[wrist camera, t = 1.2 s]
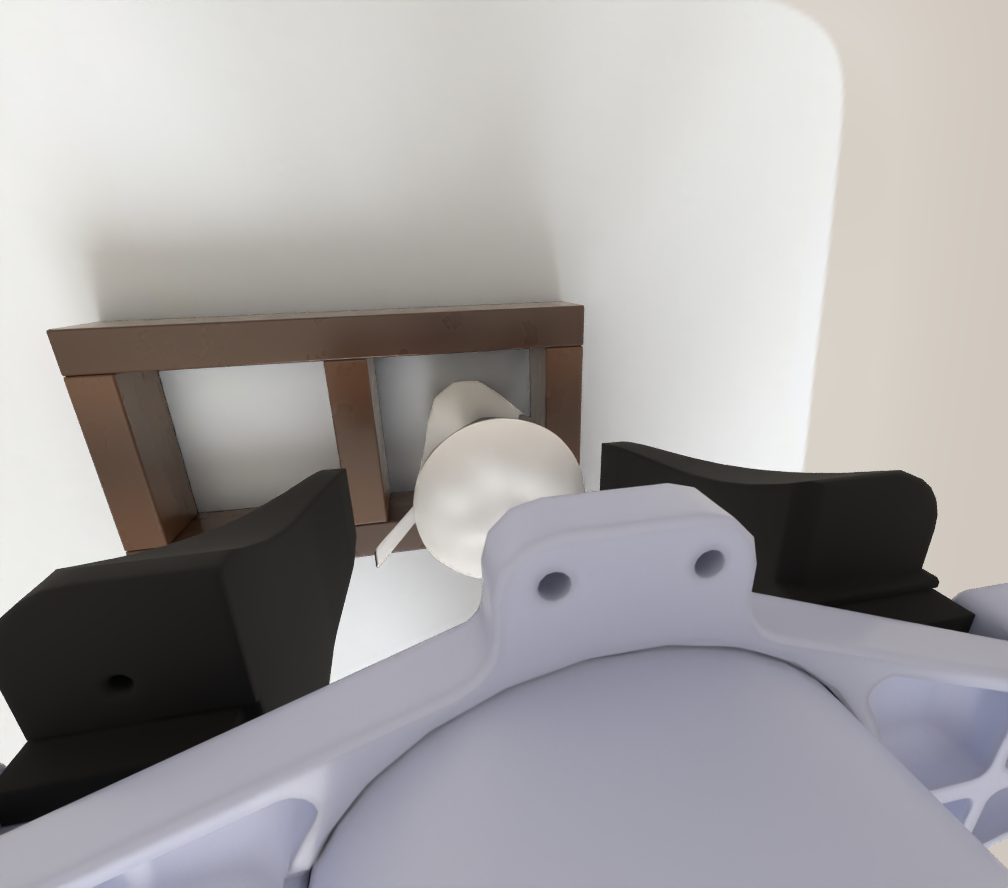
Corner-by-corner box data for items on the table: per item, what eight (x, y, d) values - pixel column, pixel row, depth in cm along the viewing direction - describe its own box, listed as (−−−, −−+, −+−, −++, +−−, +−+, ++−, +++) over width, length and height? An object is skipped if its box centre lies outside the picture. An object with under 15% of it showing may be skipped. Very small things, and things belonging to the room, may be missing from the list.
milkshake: (387, 367, 19) (362, 459, 9) (520, 360, 19) (620, 439, 10) (397, 473, 20) (385, 644, 11) (520, 462, 21) (607, 612, 12)
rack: (560, 502, 22) (578, 530, 20) (170, 547, 19) (136, 586, 17) (562, 301, 19) (584, 305, 17) (98, 321, 16) (44, 330, 14)
